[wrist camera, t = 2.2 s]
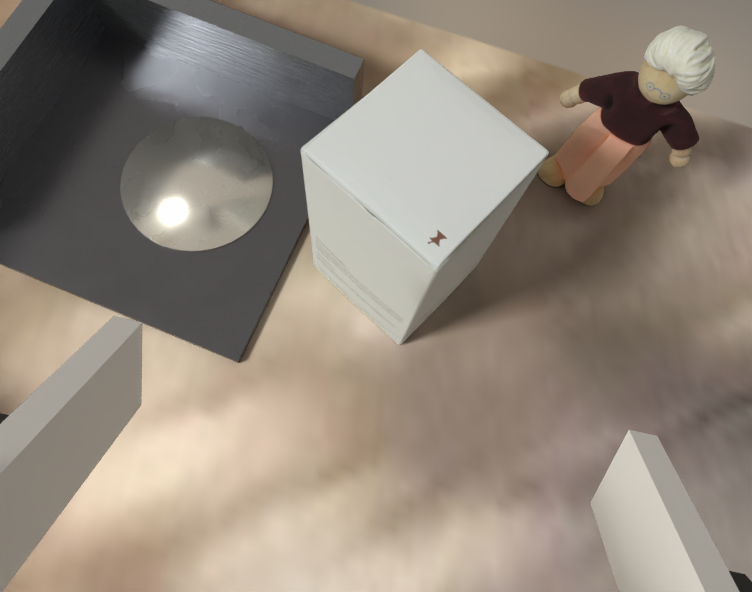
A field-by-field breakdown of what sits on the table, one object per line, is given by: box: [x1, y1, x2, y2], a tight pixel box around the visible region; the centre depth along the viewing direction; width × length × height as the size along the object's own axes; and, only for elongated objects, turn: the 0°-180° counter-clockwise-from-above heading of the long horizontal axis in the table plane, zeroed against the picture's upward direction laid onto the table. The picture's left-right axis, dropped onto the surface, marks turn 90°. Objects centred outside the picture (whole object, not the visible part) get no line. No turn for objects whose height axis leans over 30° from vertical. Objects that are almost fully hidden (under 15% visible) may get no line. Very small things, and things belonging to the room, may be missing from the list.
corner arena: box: [0, 0, 364, 363], centre depth 33 cm, size 19×18×5 cm
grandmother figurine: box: [538, 26, 715, 206], centre depth 31 cm, size 8×4×13 cm, turn 69°
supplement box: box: [301, 49, 549, 345], centre depth 28 cm, size 7×7×13 cm
